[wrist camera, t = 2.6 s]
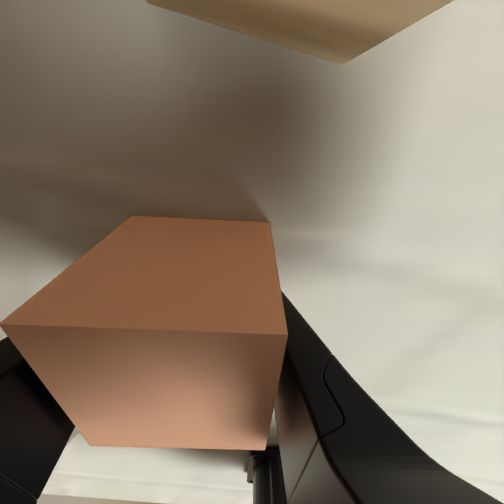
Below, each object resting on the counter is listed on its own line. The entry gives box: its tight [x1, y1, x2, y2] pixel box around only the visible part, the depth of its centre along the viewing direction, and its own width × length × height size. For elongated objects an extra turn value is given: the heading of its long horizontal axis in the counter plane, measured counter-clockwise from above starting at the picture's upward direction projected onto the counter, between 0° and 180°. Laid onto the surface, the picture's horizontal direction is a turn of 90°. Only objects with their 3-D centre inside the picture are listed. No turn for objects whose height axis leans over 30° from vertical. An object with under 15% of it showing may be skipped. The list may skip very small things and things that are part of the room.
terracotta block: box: [0, 216, 288, 450], centre depth 7 cm, size 5×5×5 cm
